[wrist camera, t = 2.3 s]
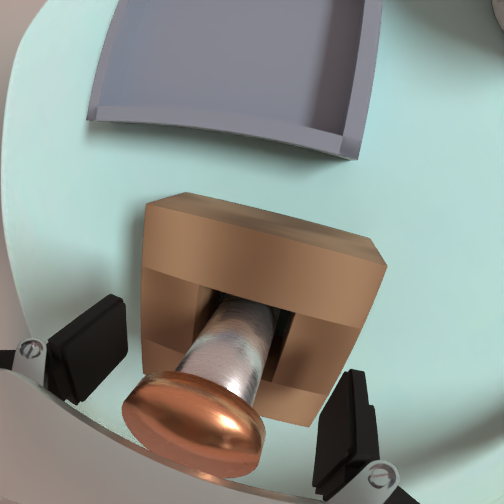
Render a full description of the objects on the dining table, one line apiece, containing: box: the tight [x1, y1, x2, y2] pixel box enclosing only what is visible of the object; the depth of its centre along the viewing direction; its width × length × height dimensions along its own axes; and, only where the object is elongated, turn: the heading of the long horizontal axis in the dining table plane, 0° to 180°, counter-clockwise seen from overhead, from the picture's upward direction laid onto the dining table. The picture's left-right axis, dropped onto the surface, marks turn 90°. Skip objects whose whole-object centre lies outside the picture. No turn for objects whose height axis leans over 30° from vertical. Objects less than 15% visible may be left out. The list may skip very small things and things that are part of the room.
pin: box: [122, 293, 281, 478], centre depth 11 cm, size 4×4×10 cm
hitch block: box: [141, 192, 387, 427], centre depth 14 cm, size 10×10×4 cm
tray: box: [86, 0, 383, 160], centre depth 11 cm, size 14×11×2 cm
